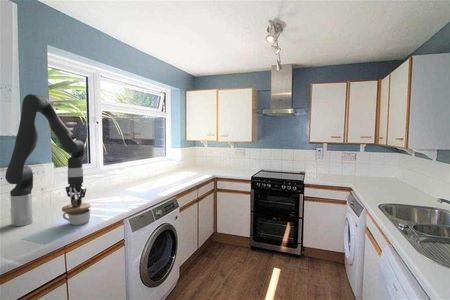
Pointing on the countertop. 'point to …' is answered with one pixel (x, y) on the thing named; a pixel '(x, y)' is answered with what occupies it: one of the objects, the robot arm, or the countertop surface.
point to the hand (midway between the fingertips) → (76, 204)
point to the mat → (48, 235)
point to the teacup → (78, 217)
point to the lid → (75, 207)
